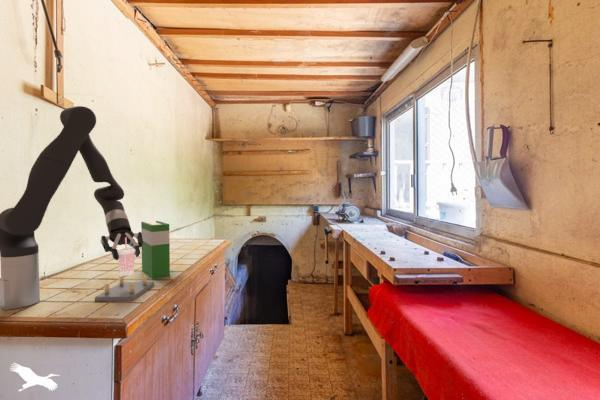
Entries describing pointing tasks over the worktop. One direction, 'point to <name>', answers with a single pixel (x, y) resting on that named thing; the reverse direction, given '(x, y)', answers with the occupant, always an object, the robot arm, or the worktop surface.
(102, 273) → the worktop surface
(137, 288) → the chassis
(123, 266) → the beverage cup
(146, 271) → the hardback book
